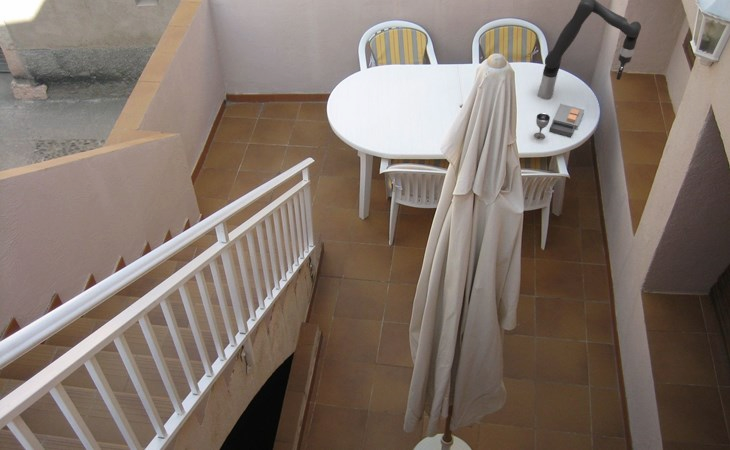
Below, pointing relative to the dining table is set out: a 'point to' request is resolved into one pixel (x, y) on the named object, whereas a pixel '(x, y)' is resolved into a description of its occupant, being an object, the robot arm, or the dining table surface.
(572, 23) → the robot arm
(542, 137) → the wine glass
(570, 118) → the tile front
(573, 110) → the tile rear
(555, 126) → the tray
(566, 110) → the slate ledge
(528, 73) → the dining table surface
